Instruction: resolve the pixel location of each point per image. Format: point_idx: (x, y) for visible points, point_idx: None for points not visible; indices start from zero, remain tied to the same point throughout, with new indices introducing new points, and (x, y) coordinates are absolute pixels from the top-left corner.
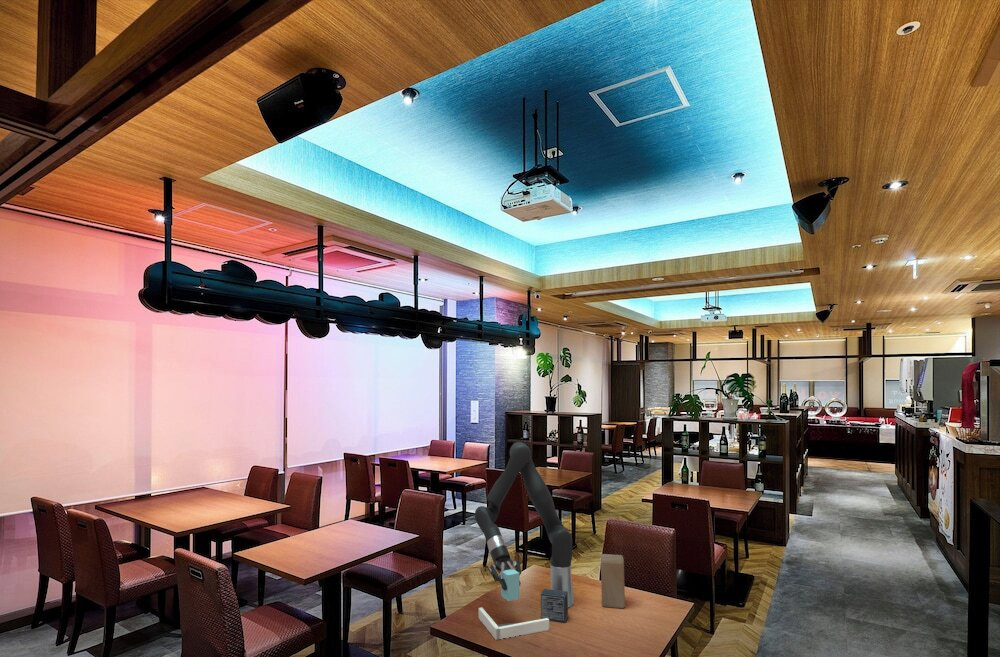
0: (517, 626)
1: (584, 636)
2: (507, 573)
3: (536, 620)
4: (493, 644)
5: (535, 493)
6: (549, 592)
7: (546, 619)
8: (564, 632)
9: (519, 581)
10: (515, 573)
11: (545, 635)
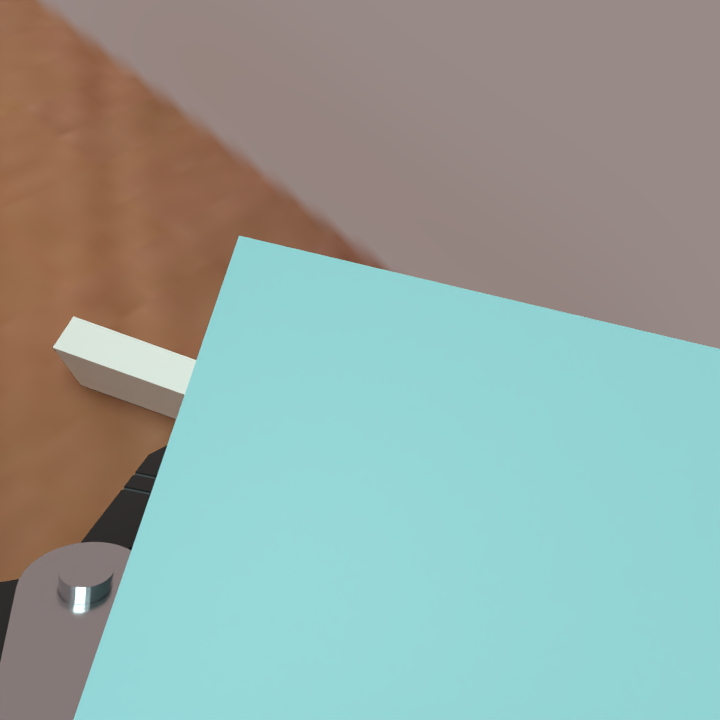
0: None
1: (15, 151)
2: (693, 511)
3: (173, 380)
4: None
5: None
6: None
7: (89, 332)
8: (53, 262)
9: (147, 482)
10: (408, 292)
11: (194, 323)
